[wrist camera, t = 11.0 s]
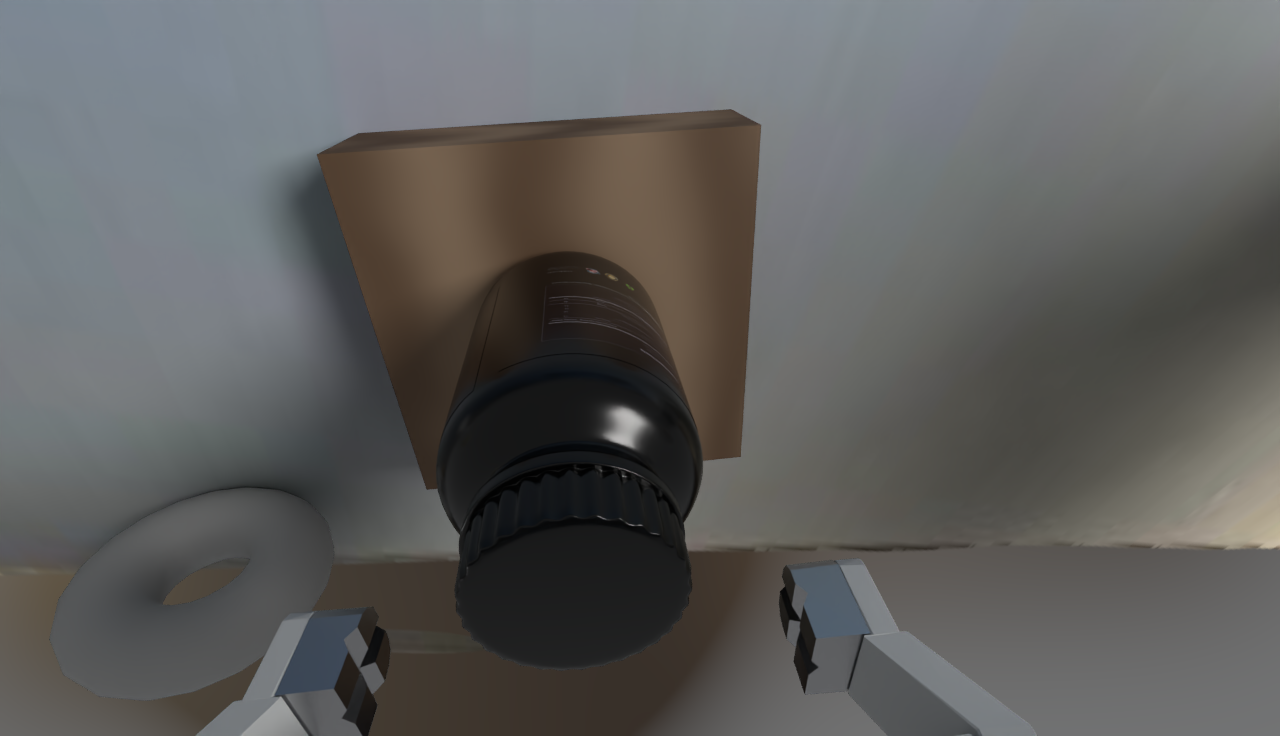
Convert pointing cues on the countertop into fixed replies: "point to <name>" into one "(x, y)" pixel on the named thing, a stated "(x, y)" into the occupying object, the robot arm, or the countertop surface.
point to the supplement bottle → (569, 468)
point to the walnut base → (553, 242)
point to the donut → (205, 628)
